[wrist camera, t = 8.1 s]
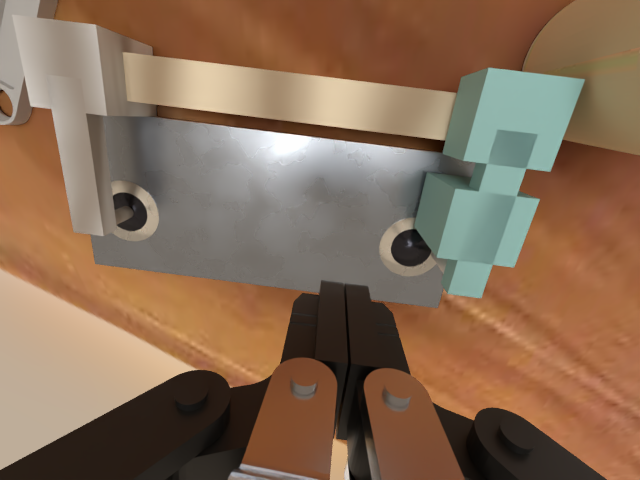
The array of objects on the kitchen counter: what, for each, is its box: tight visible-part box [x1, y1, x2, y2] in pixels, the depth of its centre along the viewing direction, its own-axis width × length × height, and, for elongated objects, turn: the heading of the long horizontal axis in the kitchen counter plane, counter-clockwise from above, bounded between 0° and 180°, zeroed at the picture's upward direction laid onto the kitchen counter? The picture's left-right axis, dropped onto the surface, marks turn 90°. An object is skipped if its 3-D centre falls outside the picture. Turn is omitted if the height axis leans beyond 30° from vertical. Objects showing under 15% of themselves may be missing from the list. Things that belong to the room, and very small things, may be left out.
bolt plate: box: [90, 115, 476, 308], centre depth 22 cm, size 26×11×1 cm, turn 83°
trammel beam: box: [12, 15, 457, 236], centre depth 19 cm, size 26×11×5 cm, turn 83°
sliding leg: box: [414, 68, 585, 298], centre depth 17 cm, size 4×11×5 cm, turn 173°
